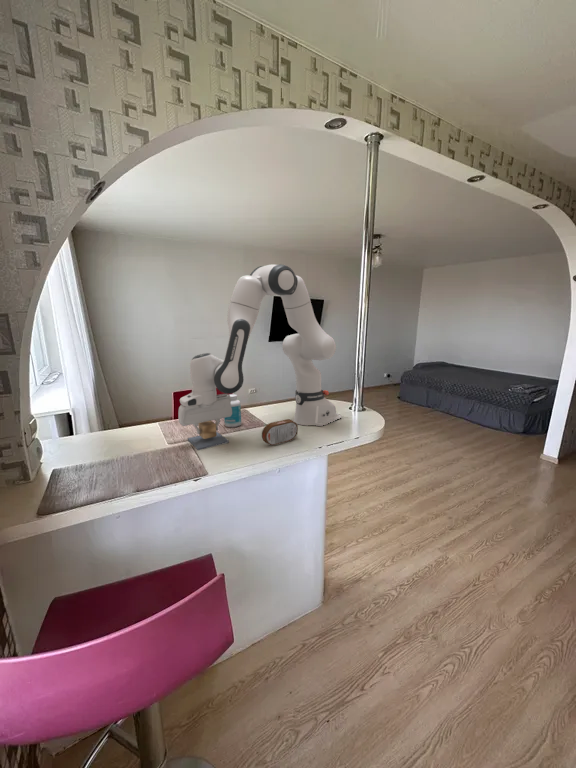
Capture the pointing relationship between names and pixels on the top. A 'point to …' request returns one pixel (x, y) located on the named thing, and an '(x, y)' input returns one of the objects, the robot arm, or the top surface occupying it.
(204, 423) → the cube
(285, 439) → the tin
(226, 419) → the pill bottle
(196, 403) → the robot arm
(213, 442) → the mat
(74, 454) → the top surface
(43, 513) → the top surface
